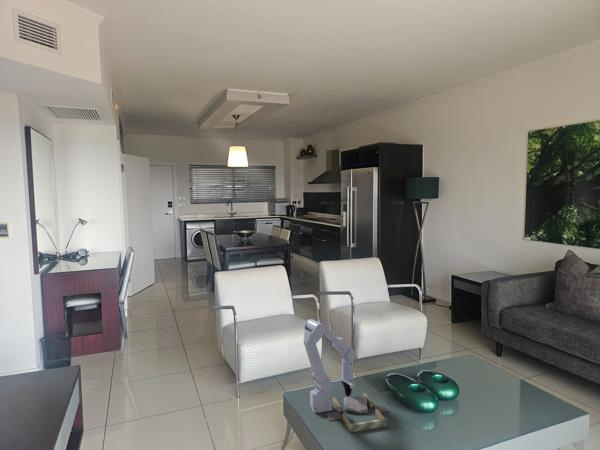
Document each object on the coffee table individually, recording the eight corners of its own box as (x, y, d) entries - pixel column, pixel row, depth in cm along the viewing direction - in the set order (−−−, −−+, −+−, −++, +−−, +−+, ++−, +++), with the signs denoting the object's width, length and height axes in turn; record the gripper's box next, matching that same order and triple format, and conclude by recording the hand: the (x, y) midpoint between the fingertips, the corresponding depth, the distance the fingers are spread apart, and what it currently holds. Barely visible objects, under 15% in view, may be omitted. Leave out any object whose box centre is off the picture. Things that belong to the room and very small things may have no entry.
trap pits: (329, 421, 181) (329, 420, 181) (325, 414, 187) (325, 413, 187) (389, 411, 187) (389, 410, 187) (384, 405, 193) (384, 404, 193)
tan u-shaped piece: (350, 432, 172) (350, 425, 172) (332, 402, 197) (332, 396, 197) (386, 426, 176) (386, 419, 176) (365, 397, 201) (365, 391, 200)
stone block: (368, 417, 187) (367, 402, 196) (368, 409, 185) (366, 394, 195) (343, 417, 188) (343, 402, 197) (343, 409, 186) (342, 394, 196)
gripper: (360, 375, 193) (360, 401, 194) (350, 362, 207) (350, 387, 209) (346, 376, 192) (347, 403, 193) (337, 364, 206) (337, 389, 207)
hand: (348, 395), depth 201 cm, fingers closed
